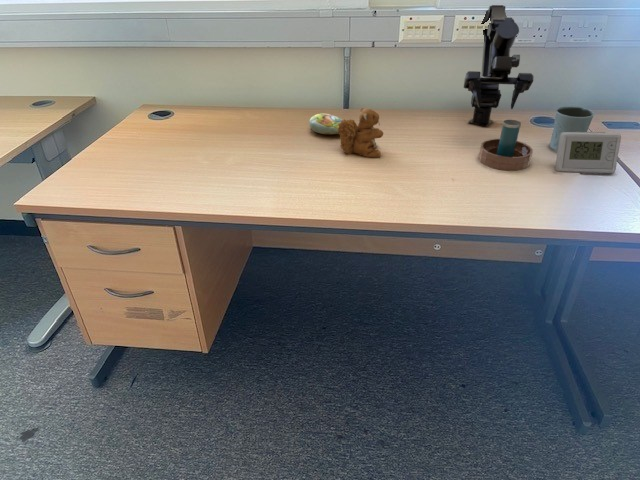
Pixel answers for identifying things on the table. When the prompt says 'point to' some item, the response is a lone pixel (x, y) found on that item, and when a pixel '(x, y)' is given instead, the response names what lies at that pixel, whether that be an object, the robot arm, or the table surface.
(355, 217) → the table surface
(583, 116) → the grey-green cup
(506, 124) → the tin
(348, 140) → the stuffed squirrel
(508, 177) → the table surface
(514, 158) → the bowl
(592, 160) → the digital clock
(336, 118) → the decorated easter egg
